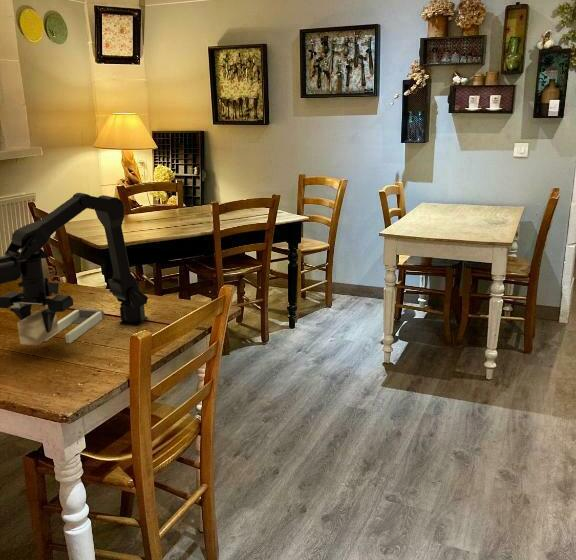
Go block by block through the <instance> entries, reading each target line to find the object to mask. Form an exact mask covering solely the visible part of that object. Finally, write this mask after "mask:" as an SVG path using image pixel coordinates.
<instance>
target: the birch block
mask: <svg viewBox="0 0 576 560" xmlns="http://www.w3.org/2000/svg"><path fill="white" fill-rule="evenodd" d="M44 310H45V309H38V310H37V311H34V312H32V313H31V315H29V316H28V317H26V318H24V319H23V320H20V321H18V322H17V323H16V324H17V331H18V338H19V344H21V345H30V346H39V345H40V344H41V343H43V342H46V341H45V340H46V339H47V338H49V337H50V336H52V335H53V334H55V333H56V332H58V323H57V322H58V317H57V313H56V314H55V317H54V320H53V324H52V328H51V331H50V332H49V333H47V331H46V328H45V324H44V321H43V317H42V313H41V312H42V311H44ZM58 333H59V332H58Z"/></svg>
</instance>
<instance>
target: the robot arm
mask: <svg viewBox="0 0 576 560" xmlns="http://www.w3.org/2000/svg"><path fill="white" fill-rule="evenodd" d="M87 209H89V210H94V212H95V214H96V218H97V219H98V220H99V223H101V225H102V227H104V228H103V229H104V233H105V237H106V242H107V247H108V252H109V258H110V262H111V267H112V272H113V273H112V277H111V278H109V279H107V283H108V286H109V292H110V293H111V294H112V296H113V297H115V298H116V300H117V302H120V307H119V313H120V314H119V315H120V322H119V324H120V325H129V326H141V325H142V324H143V323H144V322H145V321H146V320H147V319H148V316H146V313H145V305H147V303H148V299H149V298H148V296H147V295H146V294H144V293H143V292H142V291H140V287H139V284H138V281H137V279H136V278H135V276H134V274H133V273H132V272H131V268H130V262H129V259H128V257H129V256H128V253H127V247H126V243H125V238H124V237H125V235H124V232H123V231H124V230H123V228H122V226H123V222H124V219H125V205H124V202H123V201H122V200H121V199H120V198H119V197H115V196H110V195H103V194H102V195H100V196H92V195H90V194H87V193H84V192H76V193H74V194H73V195H72V197H70V198H69V199H68V200H66V201H64V202H63V203H62V204H60V205H59V206H58V207H56V208H55V209H54V210H52V211H51V212H49V213H48V214H47V215H45V216H44V217H42V218H40V220H37V221H34V222H32V223H28V224H26V225H24V226H22V227H19V228H17V229H16V230H14V231H13V233H12V234H11V242H10V244H9V245H8V247H7V249H6V251H5V253H4V256H0V285H4V284H6V283H7V284H8V283H11V282H16V281H18V280H19V279H20V281H19V282H17V285H18V287H21V290H22V292H19V291H9V292H7V293H5V294H3V295H1V296H0V309H9V312H13V313H14V315H16V317H17V318H18V319H20V321H21V320H23V319H24V318H26V317H28V316H29V315H31V314H32V311H31V309H32V306H44V307H45V309H43V310H44V311H42V312H41V313H42V317H43V321H44V324H45V328H46V331H47V333H49V332H50V331H51V328H52V324H53V320H54V317H55V314H56V315H57V313H58V312H59V313H61V312H64V311H66V310H68V309H69V308H71V307H72V306H74V300H73V299H74V298H73V297H72V296H71V295H67V294H63V295H61V294H59V295H57V296H56V295H55V294H58V293H59V291H58V289H59V287H60V285H59V284H60V283H57V282H56V283H55V282H52V281H51V282H50V281H49V279H48V278H47V277H44V276H45V274H44V265H43V259H47V258H50V256H51V255H50V254H49V253H47V252H45V251H44V249H43V247H45V245H47V243H49V240H50V238H51V237H52V235H54V233H55V232H57V231H58V230H60V228H62V227H63V226H65V225H66V224H68V223H69V222H70V221H72V220H74V218H75V217H77V216H78V215H80V214H81V213H82V212H84V211H85V210H87ZM19 250H20V251H19ZM59 290H60V289H59ZM53 294H54V295H55V296H56V297H54V298H52V299H49V298H47V297H48V296H53Z"/></svg>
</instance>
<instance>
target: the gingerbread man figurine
mask: <svg viewBox="0 0 576 560" xmlns="http://www.w3.org/2000/svg"><path fill="white" fill-rule="evenodd" d="M47 268H48V269H47ZM49 268H51V269H50V270H49ZM43 271H44V277H47V278H48V280H49V282H52V281H53V279H54V277H57V278H59V279H60V280H58V279H55V280H54V283H59V286H63V285H64V279H63V278H62V277H61V276H59V275H55V274H56V269H55V268H54V267H53V266H50V265H48V266H46V267H44V268H43ZM57 295H64V294H63V292H61V290H60V289H58V294H54V295H51V296H48V297H47V298H49V299H52V298H54V297H56V296H57Z"/></svg>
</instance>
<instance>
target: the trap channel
mask: <svg viewBox="0 0 576 560" xmlns="http://www.w3.org/2000/svg"><path fill="white" fill-rule="evenodd" d="M104 312H105V311H104V310H100V309H86V308H77V309H75V310H74V311H72V312H70V313H69V314H67V315H66V316H64V317H63V318H61V319H59V320H57V323H58V332H56V333H55V334H53V335H52V336H50V337H49V338H47V339H46V340H45V341H44V342H47V341H48V340H50V339H51V338H53V337H54V336H55V335H57V334H58V333H60V332H61V331H63V330H64V329H65V328H67V327H68V326H70V325H72V324H75V325H77V326H75V327H74V328H73V329H71V330H70V331H68V332H67V333H65V343H66V344H71V343H73V342H74V341H75V340H77V339H78V338H79V337H81V336H82V335H83V334H85V333H86V332H87V331H89V330H90V329H92V327H94V326H95V325H96V324H98V323H100V322H101V321H102V320H103V319H104V318H105V314H104Z"/></svg>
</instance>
